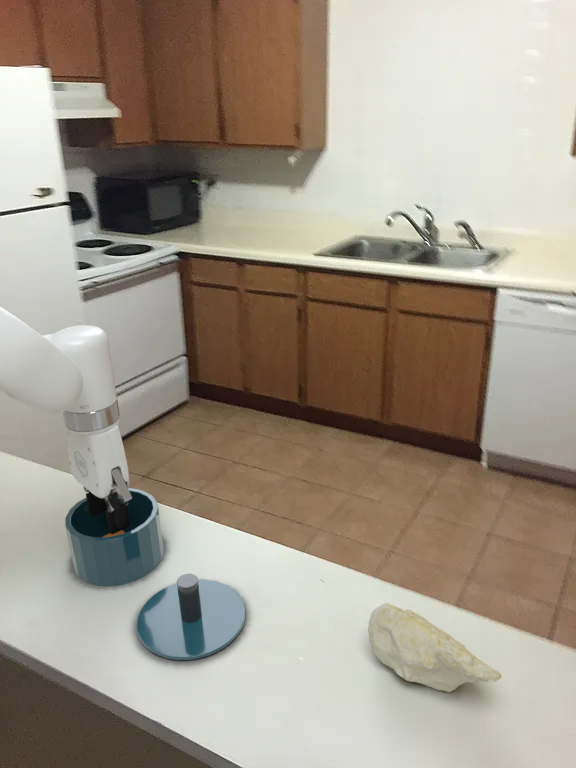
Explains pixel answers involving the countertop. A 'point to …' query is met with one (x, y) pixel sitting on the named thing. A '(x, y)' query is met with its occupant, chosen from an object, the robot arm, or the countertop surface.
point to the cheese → (423, 651)
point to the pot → (115, 542)
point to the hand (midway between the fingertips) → (109, 519)
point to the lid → (191, 619)
